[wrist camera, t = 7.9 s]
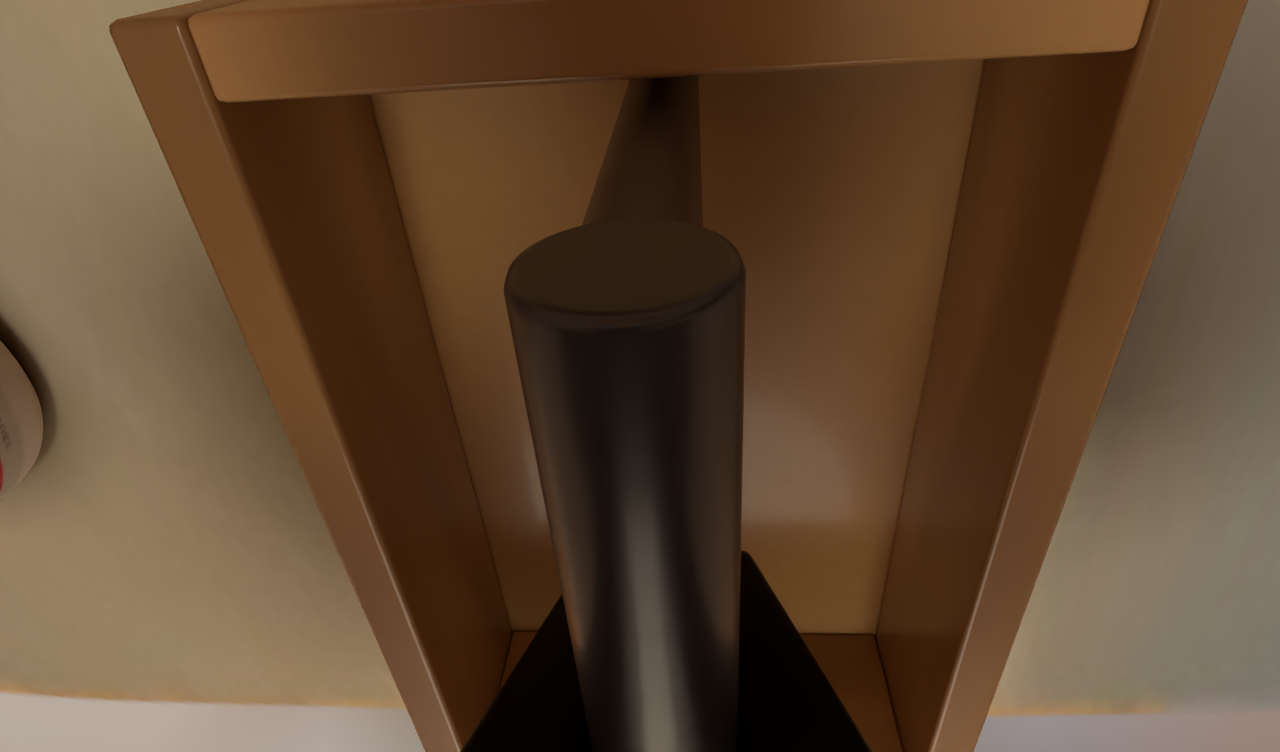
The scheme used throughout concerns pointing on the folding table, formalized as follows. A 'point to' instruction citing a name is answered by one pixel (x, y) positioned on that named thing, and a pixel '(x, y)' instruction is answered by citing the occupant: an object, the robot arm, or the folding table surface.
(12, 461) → the pill bottle
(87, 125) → the folding table surface
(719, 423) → the top basket
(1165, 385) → the folding table surface
